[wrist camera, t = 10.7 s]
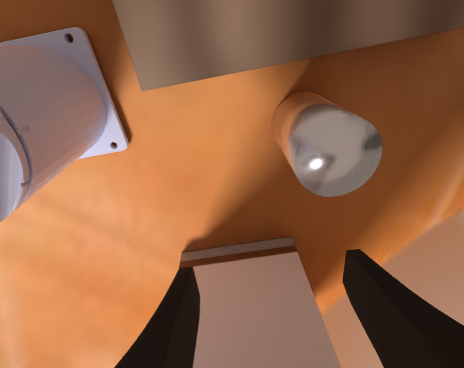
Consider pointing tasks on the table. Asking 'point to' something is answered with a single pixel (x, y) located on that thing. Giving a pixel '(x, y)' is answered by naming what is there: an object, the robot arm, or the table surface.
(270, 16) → the housing block
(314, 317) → the tall white column
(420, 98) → the table surface
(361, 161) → the shiny metal cylinder
